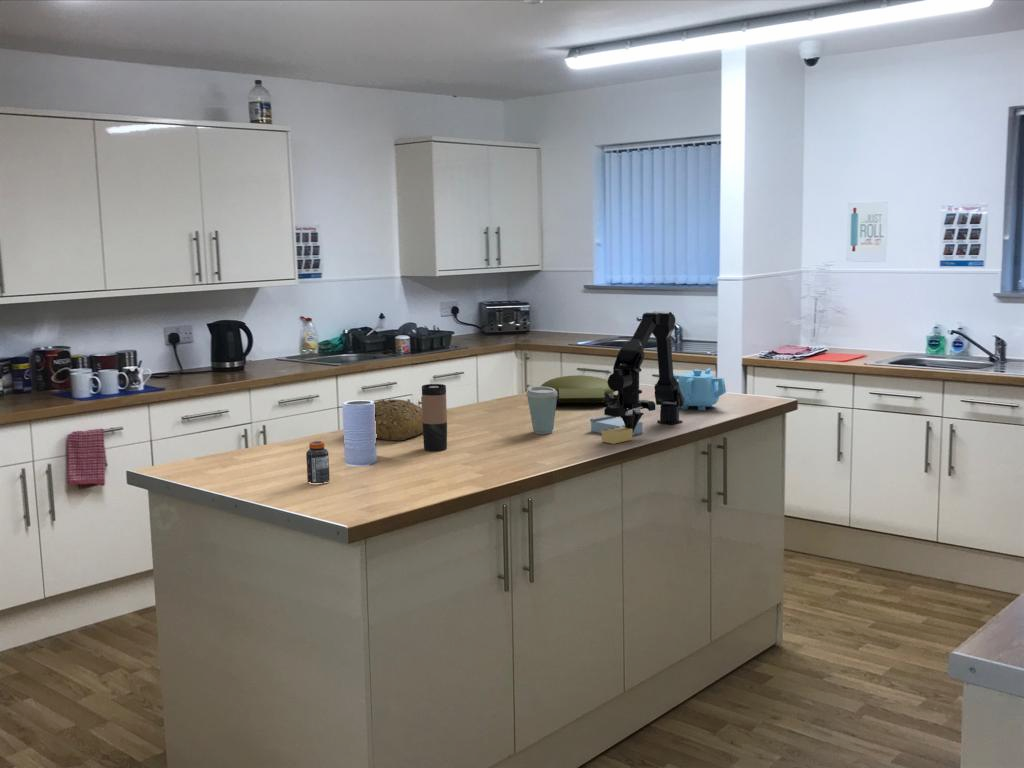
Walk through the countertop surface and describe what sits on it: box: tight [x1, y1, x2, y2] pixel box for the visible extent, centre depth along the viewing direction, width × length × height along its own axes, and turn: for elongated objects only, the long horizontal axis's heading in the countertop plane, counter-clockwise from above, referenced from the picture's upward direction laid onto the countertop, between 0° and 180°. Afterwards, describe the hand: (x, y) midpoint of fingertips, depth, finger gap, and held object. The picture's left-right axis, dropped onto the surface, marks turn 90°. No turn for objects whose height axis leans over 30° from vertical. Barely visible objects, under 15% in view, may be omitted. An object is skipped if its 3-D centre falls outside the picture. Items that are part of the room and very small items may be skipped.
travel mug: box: [421, 383, 448, 452], centre depth 310 cm, size 8×8×20 cm
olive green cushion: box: [540, 374, 616, 406], centre depth 393 cm, size 35×31×10 cm
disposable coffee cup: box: [525, 385, 558, 435], centre depth 334 cm, size 11×11×15 cm
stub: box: [601, 427, 633, 445], centre depth 319 cm, size 9×5×4 cm, turn 131°
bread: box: [373, 398, 423, 442], centre depth 334 cm, size 24×21×12 cm
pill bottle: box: [305, 440, 331, 483], centre depth 272 cm, size 6×6×11 cm
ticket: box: [589, 415, 643, 436], centre depth 334 cm, size 11×14×4 cm
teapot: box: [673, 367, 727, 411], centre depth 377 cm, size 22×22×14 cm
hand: (630, 434), depth 323 cm, fingers closed
